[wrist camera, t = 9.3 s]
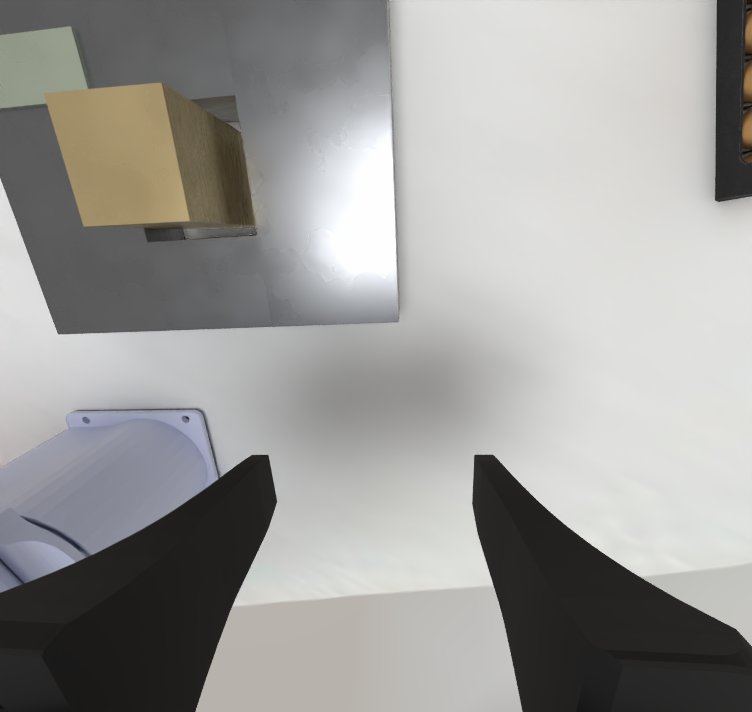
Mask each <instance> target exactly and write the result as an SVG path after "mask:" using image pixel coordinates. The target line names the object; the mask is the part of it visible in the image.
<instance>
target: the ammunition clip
mask: <svg viewBox="0 0 752 712" xmlns="http://www.w3.org/2000/svg"><path fill="white" fill-rule="evenodd" d="M750 196H752V0H717V57H716V178H715V200H716V201H718V202H720V201H726V200H732V199H738V198H744V197H750Z"/></svg>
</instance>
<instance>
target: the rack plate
mask: <svg viewBox="0 0 752 712" xmlns="http://www.w3.org/2000/svg"><path fill="white" fill-rule="evenodd" d="M150 83H163V84H165V85H166V86H168V87H169V88H171V89H173V90H174V91H176V92H177V93H179V94H181V95H182V96H184V97H185V98H187V99H189V100H190V101H192V102H193V103H195V104H196V105H198V106H200V107H201V108H203V109H204V110H206V111H208V112H209V113H211V114H212V115H214V116H216V117H217V118H219V119H220V120H222V121H223V122H232V121H239V123H240V129H241V135H242V142H243V148H244V154H245V161H246V167H247V173H248V180H249V186H250V192H251V198H252V205H253V211H254V217H255V224H256V230H257V236H240V237H224V238H208V239H192V240H185V238H184V233H183V229H153V228H116V227H84V226H83V223H82V219H81V216H80V213H79V209H78V206H77V203H76V199H75V196H74V193H73V189H72V186H71V183H70V179H69V176H68V173H67V169H66V166H65V163H64V160H63V156H62V153H61V150H60V146H59V143H58V140H57V136H56V133H55V130H54V126H53V123H52V120H51V116H50V113H49V110H48V106H47V103H46V100H45V96H44V93H50V92H61V91H72V90H83V89H94V88H105V87H117V86H128V85H139V84H150ZM0 178H1V181H2V184H3V186H4V189H5V192H6V194H7V197H8V200H9V203H10V205H11V208H12V211H13V213H14V216H15V219H16V221H17V224H18V227H19V230H20V232H21V235H22V238H23V240H24V243H25V246H26V249H27V251H28V254H29V257H30V259H31V262H32V265H33V268H34V270H35V273H36V276H37V278H38V281H39V284H40V286H41V289H42V292H43V295H44V297H45V300H46V303H47V305H48V308H49V311H50V314H51V316H52V319H53V322H54V324H55V327H56V330H57V332H58V334H83V333H111V332H138V331H166V330H194V329H221V328H249V327H277V326H304V325H332V324H359V323H387V322H398V321H399V286H398V257H397V228H396V199H395V170H394V141H393V111H392V82H391V53H390V24H389V0H0Z"/></svg>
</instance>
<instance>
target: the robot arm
mask: <svg viewBox="0 0 752 712" xmlns="http://www.w3.org/2000/svg"><path fill="white" fill-rule="evenodd" d="M185 416H187V417H189V420H188V419H187V418H186V417H185ZM88 418H89V419H88ZM66 421H67V424H68V426H69V429H67V430H65V431H64V432H62V433H60V434H58V435H57V436H55V437H53V438H51V439H50V440H48V441H46V442H44V443H43V444H41V445H39V446H37V447H36V448H34V449H32V450H31V451H29V452H27V453H25V454H24V455H22V456H20V457H18V458H17V459H15V460H13V461H11V462H10V463H8V464H6V465H4V466H3V467H1V468H0V712H195V711H196V708H197V705H198V702H199V698H200V695H201V692H202V689H203V685H204V683H205V680H206V677H207V674H208V671H209V668H210V665H211V663H212V659H213V657H214V654H215V651H216V648H217V645H218V642H219V640H220V637H221V634H222V632H223V629H224V626H225V623H226V621H227V618H228V615H229V612H230V610H231V608H232V605H233V603H234V601H235V598H236V596H237V594H238V592H239V590H240V588H241V585H242V583H243V581H244V579H245V577H246V575H247V573H248V571H249V569H250V567H251V564H252V562H253V560H254V558H255V556H256V554H257V552H258V550H259V548H260V545H261V543H262V541H263V539H264V537H265V535H266V533H267V530H268V528H269V525H270V522H271V519H272V516H273V513H274V510H275V506H276V503H277V499H276V493H275V488H274V483H273V477H272V472H271V466H270V461H269V456H268V455H251V456H250V457H248V458H247V459H245V460H244V461H242V462H241V463H240V464H238V465H237V466H235V467H234V468H233V469H231V470H230V471H229V472H227V473H226V474H225V475H223V476H222V477H221V478H218V474H217V470H216V466H215V462H214V458H213V454H212V450H211V446H210V442H209V438H208V434H207V430H206V426H205V422H204V418H203V415H202V413H201V412H200V411H198V410H137V411H74V412H71V413H69V414H68V415H66ZM472 504H473V510H474V516H475V521H476V526H477V532H478V536H479V539H480V542H481V546H482V549H483V552H484V556H485V559H486V562H487V565H488V569H489V572H490V575H491V578H492V582H493V585H494V588H495V591H496V594H497V598H498V601H499V605H500V608H501V612H502V616H503V620H504V623H505V628H506V633H507V638H508V642H509V647H510V652H511V656H512V661H513V666H514V671H515V676H516V681H517V686H518V691H519V696H520V700H521V706H522V711H523V712H752V646H751V645H750V644H749V643H748V642H747V641H746V640H745V638H744V637H743V636H742V635H741V634H740V633H739V632H738V631H737V630H736V629H734V628H732V627H731V626H729V625H727V624H725V623H723V622H721V621H719V620H717V619H715V618H713V617H711V616H709V615H707V614H705V613H703V612H702V611H700V610H698V609H696V608H694V607H692V606H690V605H688V604H686V603H684V602H682V601H680V600H678V599H676V598H675V597H673V596H671V595H670V594H668V593H666V592H664V591H663V590H661V589H659V588H657V587H655V586H654V585H652V584H651V583H649V582H647V581H645V580H644V579H642V578H641V577H639V576H637V575H636V574H634V573H632V572H631V571H629V570H628V569H626V568H624V567H623V566H621V565H620V564H618V563H617V562H615V561H614V560H612V559H611V558H609V557H608V556H606V555H605V554H603V553H602V552H600V551H599V550H598V549H596V548H595V547H593V546H592V545H591V544H589V543H588V542H587V541H585V540H584V539H583V538H581V537H580V536H579V535H577V534H576V533H575V532H573V531H572V530H571V529H570V528H568V527H567V526H566V525H565V524H563V523H562V522H561V521H560V520H558V519H557V518H556V517H555V516H554V515H553V514H552V513H550V512H549V511H548V510H547V509H546V508H545V507H544V506H543V505H542V504H540V503H539V502H538V501H537V500H536V499H535V498H534V497H533V496H532V495H531V494H530V493H529V492H528V491H527V490H526V489H525V488H524V487H523V486H522V485H521V484H520V483H519V482H518V481H517V480H516V479H515V478H514V477H513V476H512V474H511V473H510V472H509V471H508V470H507V469H506V468H505V467H504V466H503V465H502V464H501V463H500V461H499V460H498V459H497V458H496V457H495V456H494V455H475V456H474V479H473V502H472Z"/></svg>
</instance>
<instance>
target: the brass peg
mask: <svg viewBox="0 0 752 712" xmlns="http://www.w3.org/2000/svg"><path fill="white" fill-rule="evenodd" d="M44 96H45V100H46V103H47V106H48V110H49V113H50V116H51V120H52V123H53V126H54V130H55V133H56V136H57V140H58V143H59V146H60V150H61V153H62V156H63V160H64V163H65V166H66V169H67V173H68V176H69V179H70V183H71V186H72V189H73V193H74V196H75V199H76V203H77V206H78V209H79V213H80V216H81V219H82V223H83V226H84V227H116V228H153V229H189V230H199V229H219V228H239V227H256V224H255V217H254V211H253V205H252V198H251V192H250V186H249V180H248V173H247V167H246V161H245V154H244V148H243V142H242V135H241V132H239V131H238V130H236V129H235V128H233V127H231V126H230V125H228V124H227V123H225V122H223V121H222V120H220V119H219V118H217V117H216V116H214V115H212V114H211V113H209V112H208V111H206V110H204V109H203V108H201V107H200V106H198V105H196V104H195V103H193V102H192V101H190V100H189V99H187V98H185V97H184V96H182V95H181V94H179V93H177V92H176V91H174V90H173V89H171V88H169V87H168V86H166V85H165V84H163V83H150V84H139V85H128V86H117V87H105V88H94V89H83V90H72V91H61V92H50V93H44Z"/></svg>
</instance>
